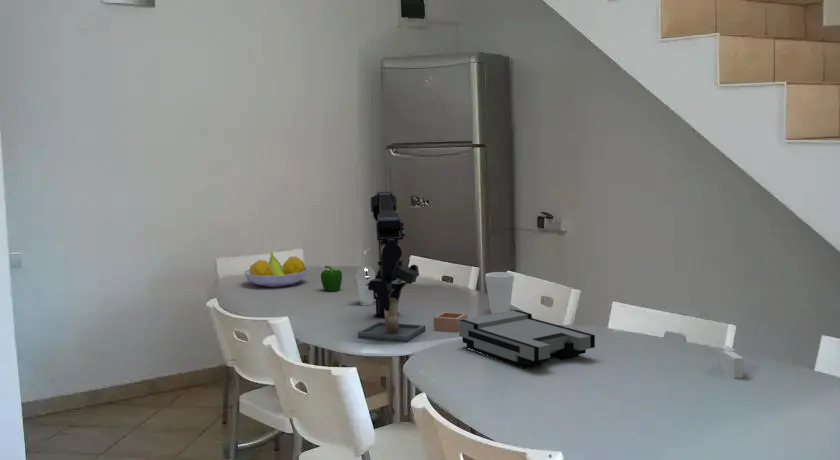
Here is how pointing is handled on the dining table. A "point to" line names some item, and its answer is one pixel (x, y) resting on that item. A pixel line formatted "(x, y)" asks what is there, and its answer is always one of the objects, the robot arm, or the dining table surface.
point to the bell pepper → (331, 279)
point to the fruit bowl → (276, 272)
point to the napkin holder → (730, 361)
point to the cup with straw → (365, 282)
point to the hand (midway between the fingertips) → (391, 308)
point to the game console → (522, 338)
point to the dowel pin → (392, 317)
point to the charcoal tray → (379, 333)
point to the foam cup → (499, 291)
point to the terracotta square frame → (448, 321)
